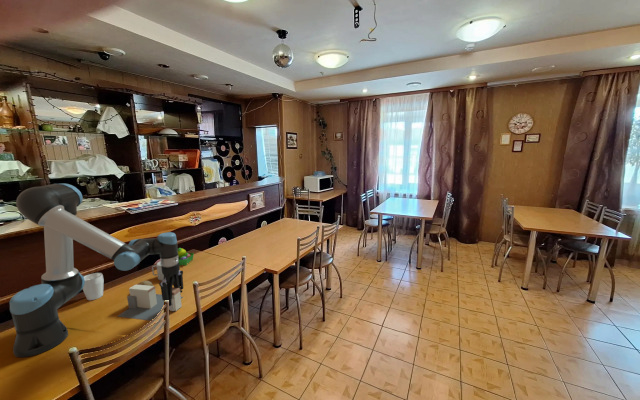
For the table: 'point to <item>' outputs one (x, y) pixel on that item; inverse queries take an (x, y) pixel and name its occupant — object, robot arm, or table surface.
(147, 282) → the bread roll
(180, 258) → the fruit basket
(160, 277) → the mug
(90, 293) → the cup
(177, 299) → the brown topped white box
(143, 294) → the cream rectangular block
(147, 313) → the slate mat
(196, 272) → the table surface
